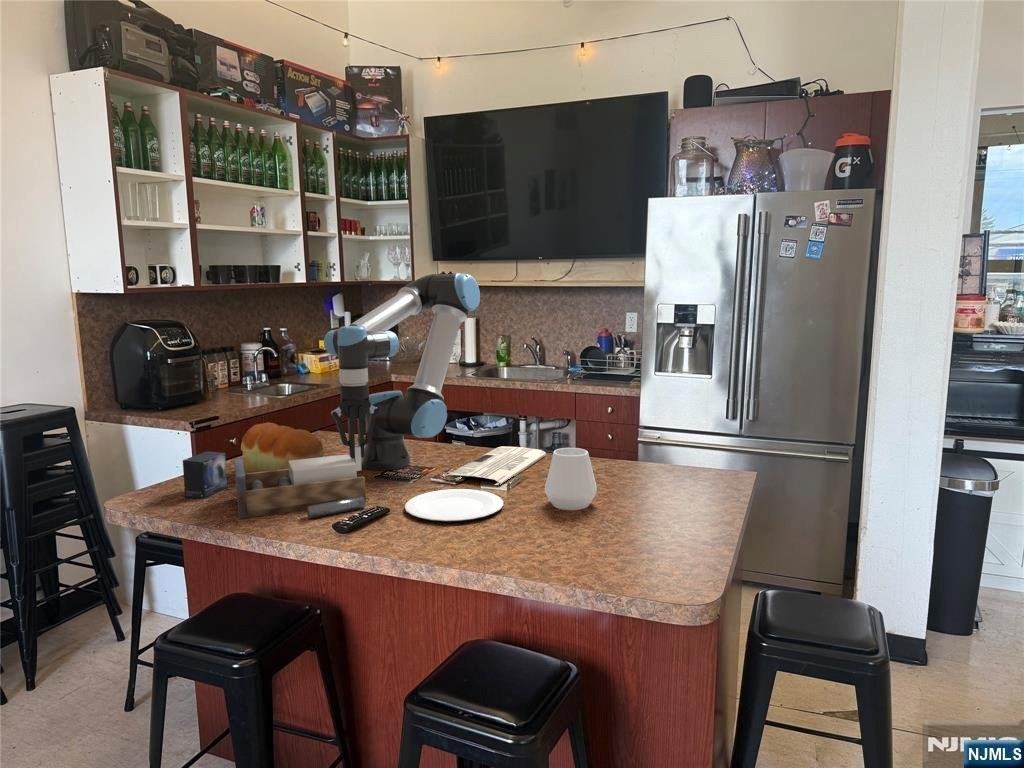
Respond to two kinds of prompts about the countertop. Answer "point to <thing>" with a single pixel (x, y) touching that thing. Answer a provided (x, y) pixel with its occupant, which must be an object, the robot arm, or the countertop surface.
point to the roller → (335, 507)
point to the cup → (570, 479)
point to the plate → (454, 505)
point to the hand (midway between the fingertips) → (357, 469)
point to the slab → (321, 469)
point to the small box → (204, 474)
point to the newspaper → (499, 464)
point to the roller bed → (288, 492)
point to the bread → (277, 447)
